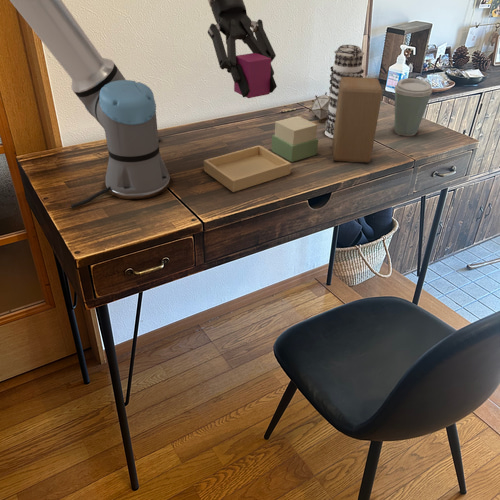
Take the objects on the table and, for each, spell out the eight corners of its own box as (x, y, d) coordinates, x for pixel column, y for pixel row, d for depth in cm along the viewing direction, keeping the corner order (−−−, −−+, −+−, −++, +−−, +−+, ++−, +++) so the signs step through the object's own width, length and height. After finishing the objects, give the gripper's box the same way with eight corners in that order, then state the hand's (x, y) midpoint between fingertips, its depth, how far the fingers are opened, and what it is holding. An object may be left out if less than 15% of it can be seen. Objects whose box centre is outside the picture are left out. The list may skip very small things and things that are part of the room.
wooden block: (366, 149, 138) (378, 77, 127) (370, 164, 130) (383, 89, 118) (331, 147, 139) (340, 75, 127) (332, 162, 131) (342, 87, 119)
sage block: (291, 162, 130) (292, 146, 128) (271, 150, 136) (272, 135, 134) (316, 154, 135) (318, 139, 132) (296, 143, 140) (297, 128, 138)
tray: (233, 192, 116) (233, 180, 114) (204, 170, 125) (203, 160, 123) (290, 174, 124) (291, 163, 123) (259, 155, 133) (259, 145, 132)
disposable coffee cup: (429, 137, 146) (441, 87, 137) (396, 140, 144) (407, 89, 135) (411, 124, 154) (421, 76, 145) (380, 127, 152) (389, 78, 143)
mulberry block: (248, 98, 110) (249, 61, 106) (234, 91, 114) (234, 55, 110) (269, 94, 113) (271, 58, 109) (254, 87, 117) (255, 52, 113)
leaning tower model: (347, 142, 142) (359, 52, 127) (318, 135, 146) (327, 47, 131) (358, 132, 148) (372, 45, 134) (331, 126, 152) (341, 41, 138)
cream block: (293, 145, 128) (294, 130, 126) (274, 135, 133) (275, 121, 131) (315, 139, 132) (317, 124, 130) (297, 129, 137) (298, 115, 135)
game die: (319, 128, 160) (325, 98, 161) (339, 126, 154) (345, 95, 154) (301, 119, 155) (307, 88, 155) (321, 116, 148) (327, 84, 148)
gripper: (191, -8, 105) (227, 89, 103) (267, -12, 113) (302, 77, 111) (183, 15, 112) (217, 106, 110) (255, 9, 120) (288, 94, 118)
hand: (259, 91), depth 111 cm, fingers closed on mulberry block, 6 cm apart
